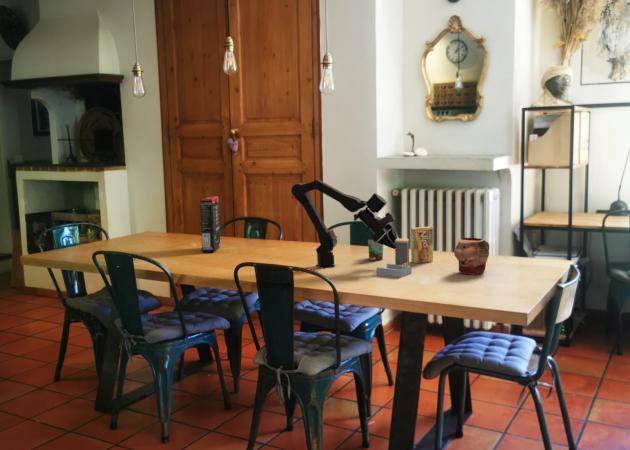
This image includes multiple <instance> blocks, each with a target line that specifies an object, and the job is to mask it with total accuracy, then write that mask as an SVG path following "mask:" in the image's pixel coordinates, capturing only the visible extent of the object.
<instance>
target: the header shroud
mask: <svg viewBox="0 0 630 450" xmlns="http://www.w3.org/2000/svg"><path fill="white" fill-rule="evenodd" d="M412 271H413V270H412V265H411V266H410V265H409V266H408V262H407V266H406V263H404V265H403V264H402V265H395V264H392V263H386V267H378V266H377V268H376V276H383V277H388V278H389V277H391V278H400V279H401V278H404V277H406V276H409V275H411V274H412V273H413V272H412Z"/></svg>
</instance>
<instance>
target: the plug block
mask: <svg viewBox="0 0 630 450" xmlns="http://www.w3.org/2000/svg"><path fill="white" fill-rule="evenodd" d="M394 245H395V246H396V248H395V249H394V251H395V252H394V254H395V255H394V257H395V258H394V262H395V264H394V265H402V264H403V265H404V263H406V266H407V262H408V266H410V240H409V238H397V239H396V240H395V244H394Z"/></svg>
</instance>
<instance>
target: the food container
mask: <svg viewBox="0 0 630 450" xmlns="http://www.w3.org/2000/svg"><path fill="white" fill-rule="evenodd" d="M378 241H379V240H378ZM378 241H377V242H378ZM377 242H376V243H375V242H374V241H373V240H372V238H371V239H368V240H367V245H368V262H380V261H383V258H384V256H383V255H384V245H382V244H379V243H377Z"/></svg>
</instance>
